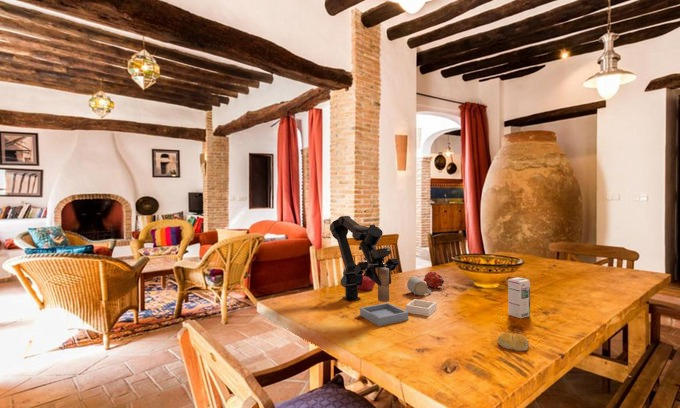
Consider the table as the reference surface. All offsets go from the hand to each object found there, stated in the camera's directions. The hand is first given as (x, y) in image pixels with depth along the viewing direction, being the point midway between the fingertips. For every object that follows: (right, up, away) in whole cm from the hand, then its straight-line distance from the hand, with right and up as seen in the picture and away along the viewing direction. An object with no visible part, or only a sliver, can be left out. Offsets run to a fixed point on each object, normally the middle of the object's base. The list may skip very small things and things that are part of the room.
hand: (385, 284), depth 144 cm
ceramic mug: (+21, -12, +34) cm, 42 cm away
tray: (0, -13, +2) cm, 13 cm away
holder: (+16, -13, +9) cm, 22 cm away
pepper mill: (-1, -7, +1) cm, 7 cm away
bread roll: (+38, -14, -25) cm, 48 cm away
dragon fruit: (+31, -12, +46) cm, 56 cm away
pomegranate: (-5, -12, +45) cm, 46 cm away
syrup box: (+53, -13, +2) cm, 55 cm away
